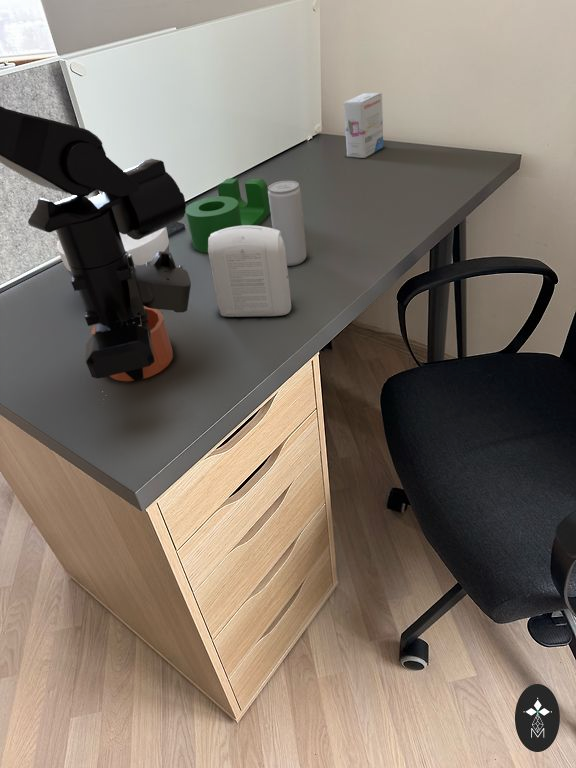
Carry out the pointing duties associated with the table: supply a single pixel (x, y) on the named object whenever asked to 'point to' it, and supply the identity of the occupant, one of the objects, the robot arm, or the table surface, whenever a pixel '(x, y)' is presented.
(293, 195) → the beverage can
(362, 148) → the ink box
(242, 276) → the white rounded block
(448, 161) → the table surface
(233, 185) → the green bracket
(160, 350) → the cup
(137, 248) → the bowl
